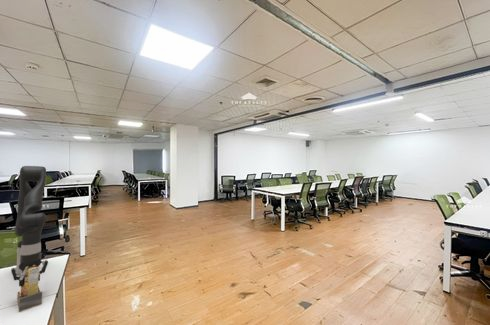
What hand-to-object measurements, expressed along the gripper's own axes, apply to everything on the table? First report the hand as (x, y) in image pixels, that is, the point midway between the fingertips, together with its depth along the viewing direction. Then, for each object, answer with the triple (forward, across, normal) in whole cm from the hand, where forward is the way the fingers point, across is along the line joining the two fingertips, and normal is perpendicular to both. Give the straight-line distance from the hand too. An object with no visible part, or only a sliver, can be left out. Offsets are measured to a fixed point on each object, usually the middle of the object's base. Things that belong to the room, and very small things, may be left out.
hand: (29, 284), depth 110 cm
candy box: (+6, 0, 0) cm, 6 cm away
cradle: (+8, 0, +3) cm, 8 cm away
